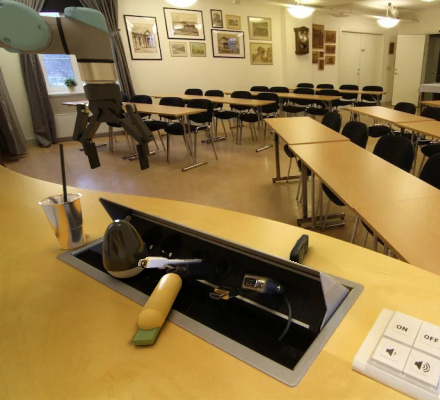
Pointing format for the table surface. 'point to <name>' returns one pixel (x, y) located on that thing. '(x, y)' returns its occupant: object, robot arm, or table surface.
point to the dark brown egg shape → (122, 249)
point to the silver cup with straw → (65, 214)
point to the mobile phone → (299, 249)
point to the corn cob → (157, 309)
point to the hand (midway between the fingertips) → (120, 168)
